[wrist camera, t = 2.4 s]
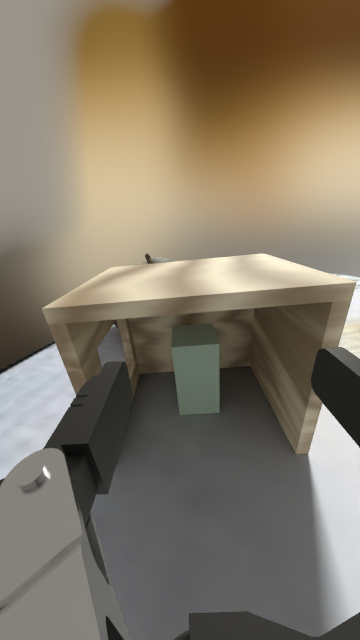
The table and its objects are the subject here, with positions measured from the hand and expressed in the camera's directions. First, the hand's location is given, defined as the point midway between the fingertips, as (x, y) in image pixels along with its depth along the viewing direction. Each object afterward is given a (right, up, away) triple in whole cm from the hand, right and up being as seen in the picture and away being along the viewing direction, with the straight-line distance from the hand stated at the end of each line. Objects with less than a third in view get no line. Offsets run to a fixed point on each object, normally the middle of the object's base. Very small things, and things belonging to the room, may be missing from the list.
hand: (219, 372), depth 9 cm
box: (+1, -9, +18) cm, 20 cm away
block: (+1, -8, +19) cm, 21 cm away
